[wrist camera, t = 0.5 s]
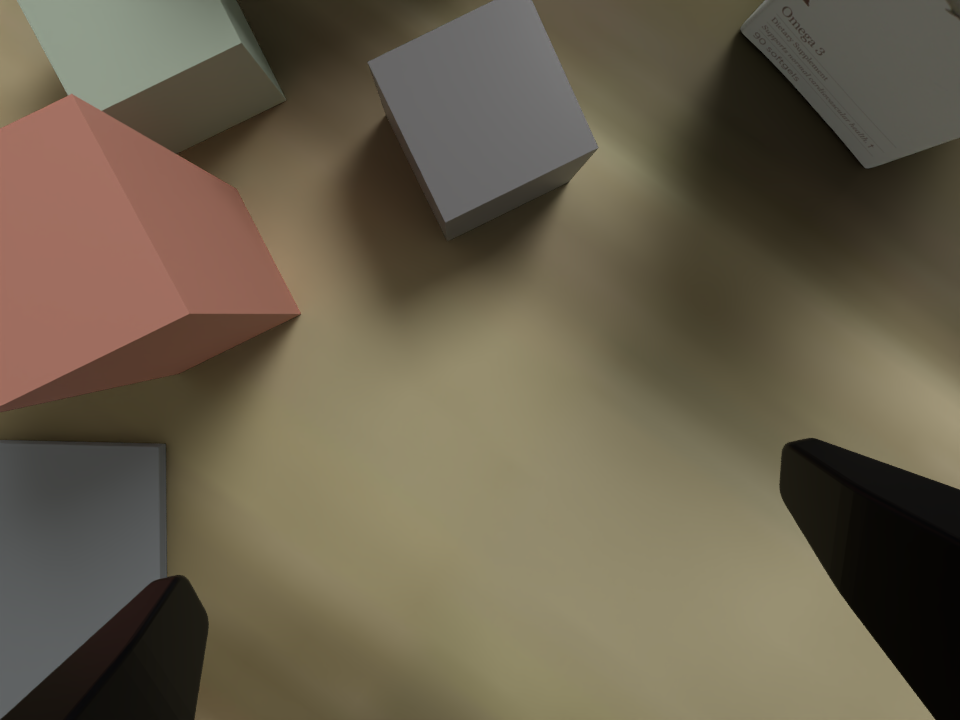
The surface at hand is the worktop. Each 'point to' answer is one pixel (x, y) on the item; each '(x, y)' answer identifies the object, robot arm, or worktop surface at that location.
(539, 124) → the light gray block
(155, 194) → the brick-red block
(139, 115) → the sage block
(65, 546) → the slate mat
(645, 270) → the worktop surface
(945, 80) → the supplement box
